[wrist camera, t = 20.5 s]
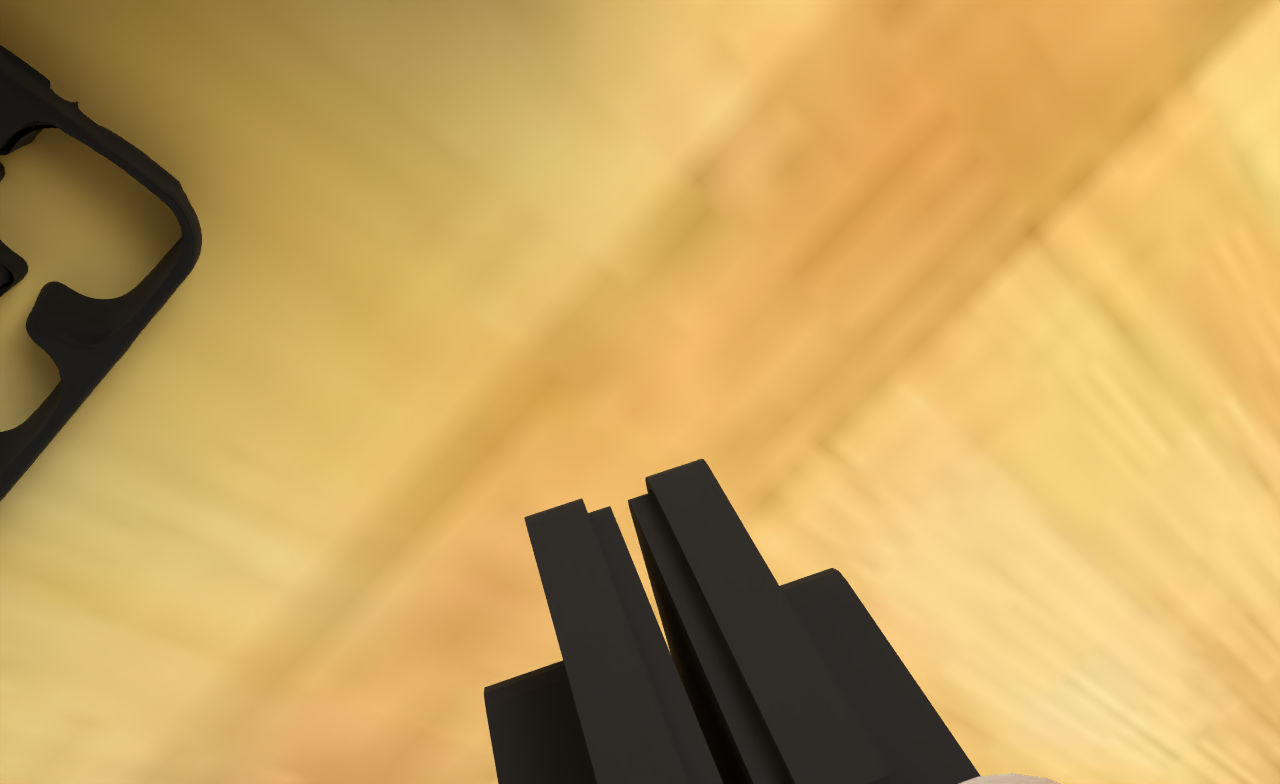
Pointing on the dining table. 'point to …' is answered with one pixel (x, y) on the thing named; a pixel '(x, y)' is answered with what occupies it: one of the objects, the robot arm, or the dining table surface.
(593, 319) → the dining table surface
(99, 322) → the egg carton
